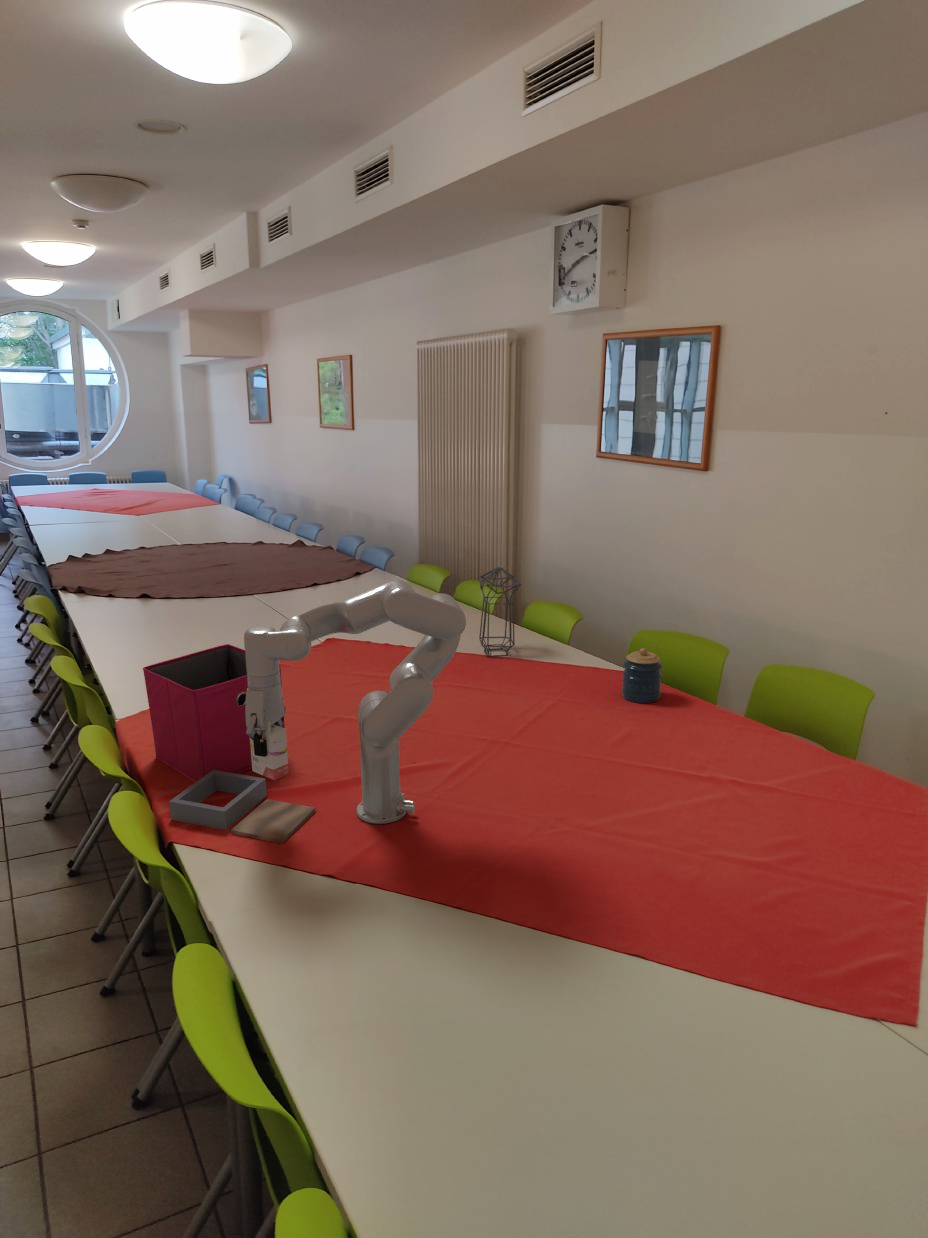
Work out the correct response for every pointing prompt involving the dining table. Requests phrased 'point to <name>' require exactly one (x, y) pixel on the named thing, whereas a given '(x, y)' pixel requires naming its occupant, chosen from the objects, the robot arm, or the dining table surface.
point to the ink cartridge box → (272, 753)
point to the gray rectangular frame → (194, 812)
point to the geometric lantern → (491, 573)
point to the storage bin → (201, 711)
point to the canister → (642, 677)
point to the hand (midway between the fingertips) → (268, 749)
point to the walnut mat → (273, 821)
